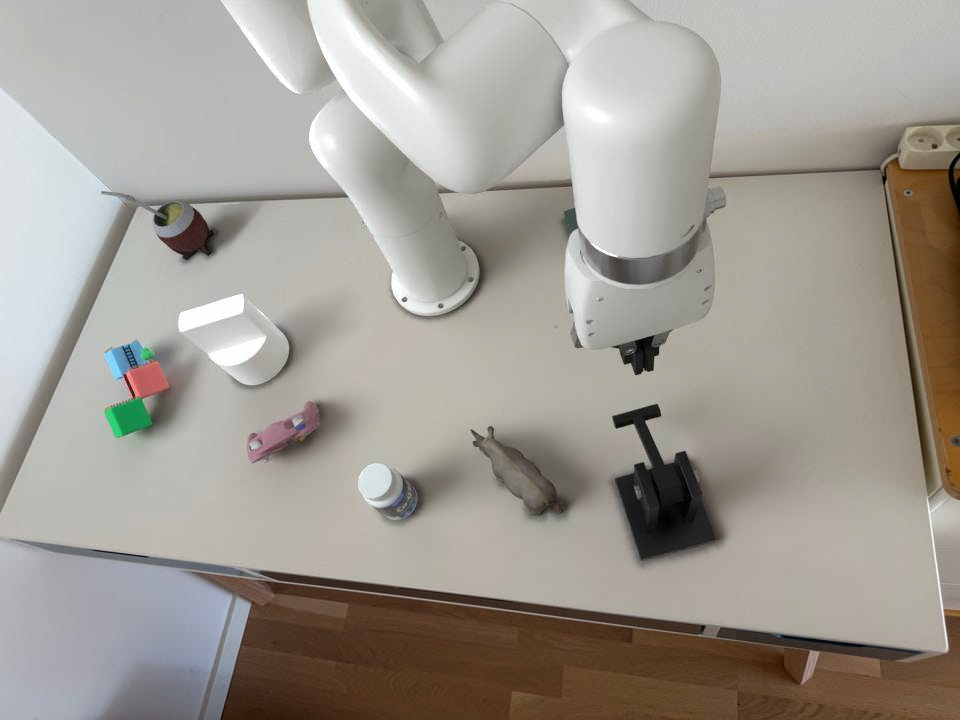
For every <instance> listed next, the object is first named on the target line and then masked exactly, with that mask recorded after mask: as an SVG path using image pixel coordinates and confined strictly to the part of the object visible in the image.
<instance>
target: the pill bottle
mask: <svg viewBox="0 0 960 720" xmlns="http://www.w3.org/2000/svg"><path fill="white" fill-rule="evenodd" d="M357 488H358V490H359V492H360V494H361V495H362V496H363V499H364V500H365V502H366V503H367V504H368V505H369V506H371V507H372V508H373V509H375V510H376V511H377V512H379V513H380V514H382V515H383V516H384V517H386V518H388V519H390V520H393V521H400V520H404V519H406V518H407V517H409V516H410V515H411V514H413V512H414V510H415V509H416V507H417V503H418V493H417V490H416V488H415V487H414V486H413V484H412V483H410V481H408V480H407V478H405V477H404V476H403V475H402V474H401V473H400V472H399V471H398V470H397V469H395V468H394V467H391V466H387V465H386V464H384V463H381V462H376V463H371V464H369V465H367V466H365V468H363V470H362V471H361V472H360V473H359V476H358V478H357Z"/></svg>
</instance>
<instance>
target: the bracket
mask: <svg viewBox="0 0 960 720" xmlns="http://www.w3.org/2000/svg"><path fill="white" fill-rule="evenodd" d="M671 463H672V464H673V466H674V469H675V471H676V473H677V475H678V477H679V479H680V481H681V483H682V489H683V496H684V501H681V502H677V503H673V504H669V505H665V506H661V504H660V502H659V499H658V497H657V494H656V492H655V490H654V487H653V485H652V480H651V474H650V469H651V468H648V469H647V466H646V464H645V462H644V461H642V462H637V463H635V464H633V472H632V473H630V474H626V475H622V476H618V477H615V478H614V482H615V485H616V489H617V492H618V495H619V499H620V501H621V504H622V508H623V511H624V513H625V517H626V520H627V524H628V526H629V529H630V532H631V535H632V538H633V541H634V545H635V548H636V551H637V555H638V558H639V560H640V562H642V561H647V560H650V559H654V558H658V557H662V556H666V555H670V554H674V553H678V552H681V551H686V550H689V549H693V548H698V547H702V546H706V545H709V544H712V543H715V542H716V541H717V537H716V535H715V532H714V529H713V527H712V524H711V522H710V520H709V517H708V514H707V511H706V508H705V506H704V504H703V502H702V497H703V492H702V490H701V487H700V484H701V478H700V475H699V473H698V471H697V469H695V468H694V469H693V466H692V464H691V461H690V459H689V456H688V454H687V451H686V450H682V451H679V452H675V453H674V460H673V462H671Z"/></svg>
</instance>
